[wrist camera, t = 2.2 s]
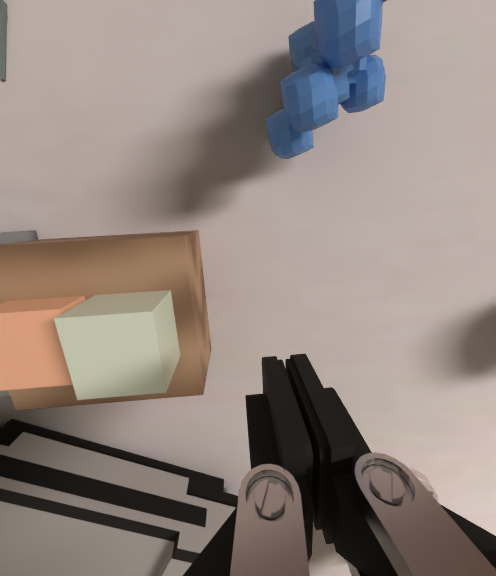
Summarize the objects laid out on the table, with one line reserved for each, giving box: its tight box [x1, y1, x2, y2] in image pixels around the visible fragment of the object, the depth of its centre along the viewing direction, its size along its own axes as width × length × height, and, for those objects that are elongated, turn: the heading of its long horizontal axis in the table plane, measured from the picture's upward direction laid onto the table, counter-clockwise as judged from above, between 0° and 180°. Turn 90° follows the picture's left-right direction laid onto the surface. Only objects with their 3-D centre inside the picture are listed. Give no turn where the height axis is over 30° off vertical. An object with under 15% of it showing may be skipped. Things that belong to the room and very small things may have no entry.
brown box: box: [0, 230, 211, 410], centre depth 21 cm, size 12×14×7 cm
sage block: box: [54, 290, 180, 400], centre depth 16 cm, size 5×5×4 cm
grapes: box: [266, 0, 386, 159], centre depth 15 cm, size 12×7×12 cm, turn 154°
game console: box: [0, 419, 238, 576], centre depth 27 cm, size 21×32×8 cm, turn 65°
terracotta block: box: [0, 296, 85, 391], centre depth 16 cm, size 5×5×2 cm
